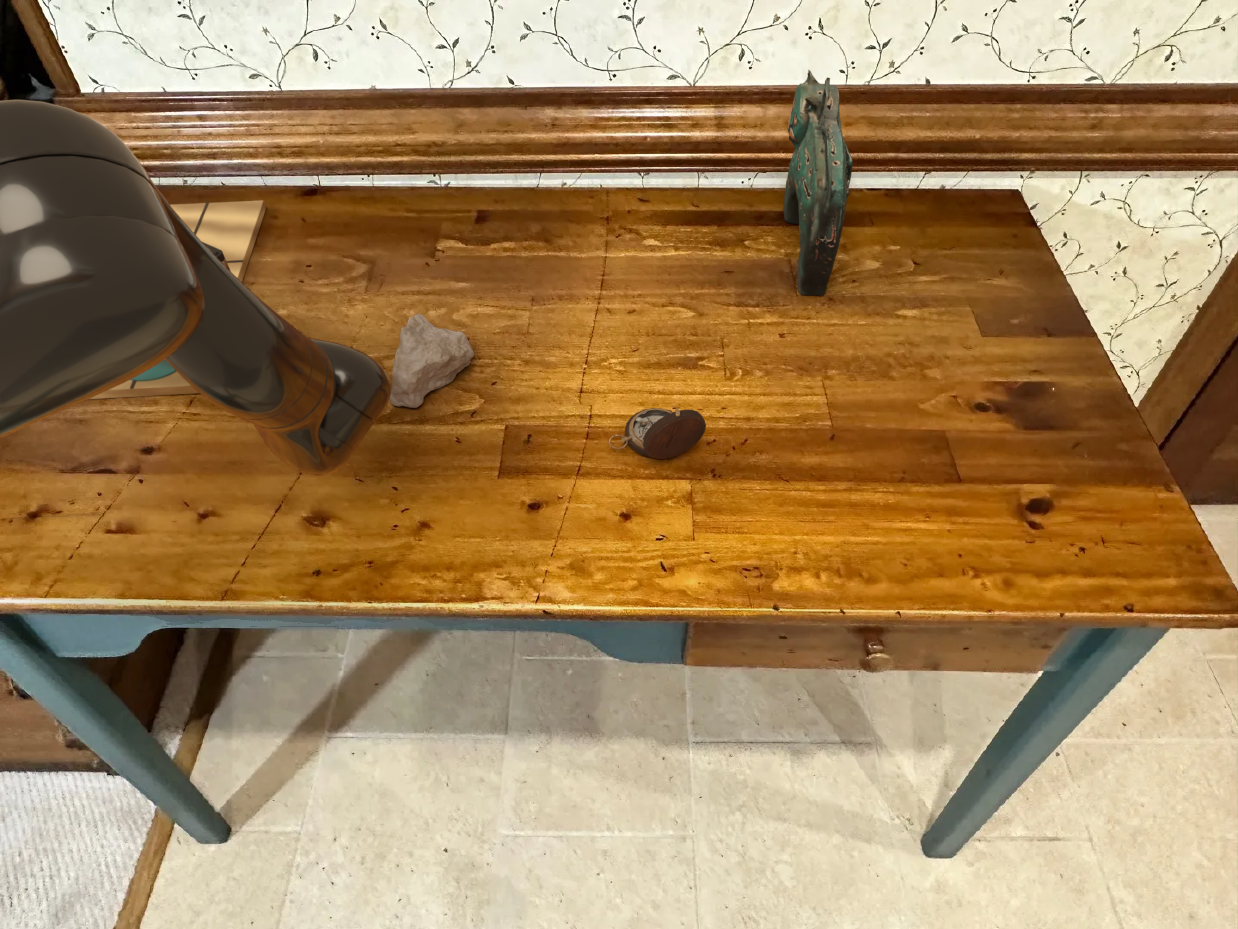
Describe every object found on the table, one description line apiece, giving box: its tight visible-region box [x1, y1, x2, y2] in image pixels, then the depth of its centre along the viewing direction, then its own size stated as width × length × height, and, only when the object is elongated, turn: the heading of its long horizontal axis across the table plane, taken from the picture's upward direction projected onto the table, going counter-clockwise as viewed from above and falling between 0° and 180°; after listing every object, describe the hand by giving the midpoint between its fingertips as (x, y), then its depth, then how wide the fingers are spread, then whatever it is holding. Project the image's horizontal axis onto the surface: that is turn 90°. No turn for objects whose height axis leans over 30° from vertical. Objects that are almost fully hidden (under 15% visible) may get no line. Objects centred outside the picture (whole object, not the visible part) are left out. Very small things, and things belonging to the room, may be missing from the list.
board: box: [89, 200, 267, 400], centre depth 101 cm, size 34×14×1 cm, turn 4°
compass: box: [608, 406, 707, 460], centre depth 83 cm, size 8×8×7 cm
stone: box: [388, 313, 475, 409], centre depth 90 cm, size 10×8×6 cm
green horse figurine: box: [782, 69, 854, 297], centre depth 99 cm, size 20×6×20 cm, turn 178°
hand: (103, 257), depth 83 cm, fingers closed on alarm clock, 6 cm apart
